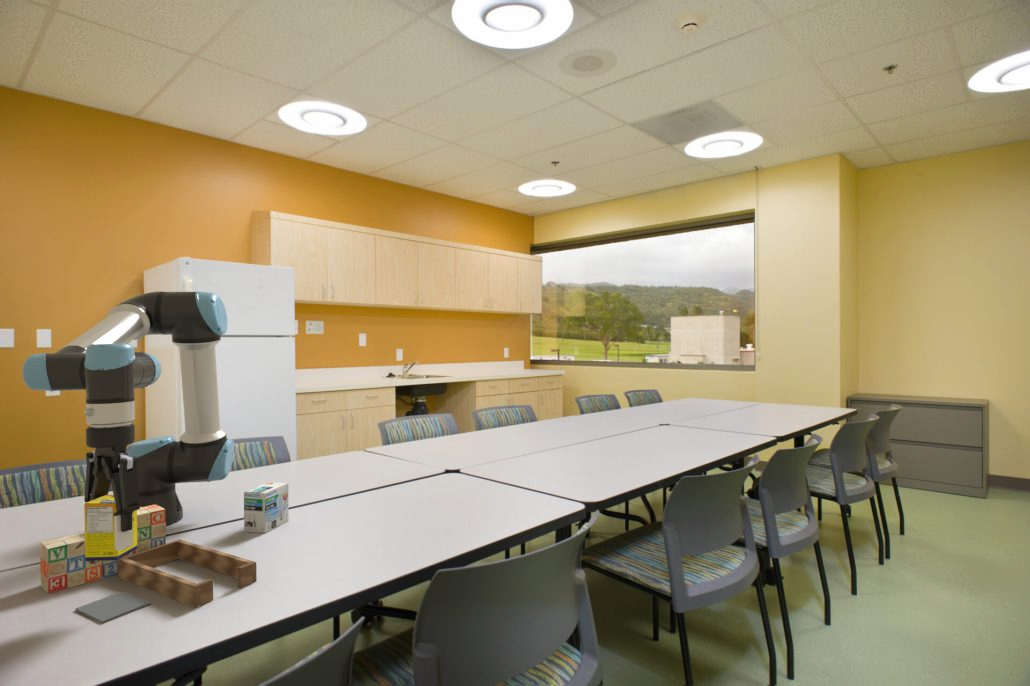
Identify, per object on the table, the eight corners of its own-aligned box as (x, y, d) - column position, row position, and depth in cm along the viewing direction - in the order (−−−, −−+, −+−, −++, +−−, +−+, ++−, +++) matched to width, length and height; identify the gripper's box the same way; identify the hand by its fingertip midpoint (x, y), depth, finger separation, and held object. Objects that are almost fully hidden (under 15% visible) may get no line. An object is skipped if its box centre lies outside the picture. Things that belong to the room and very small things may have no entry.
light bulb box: (265, 534, 144) (265, 493, 144) (242, 532, 146) (242, 491, 145) (289, 520, 155) (289, 482, 155) (268, 519, 156) (268, 481, 156)
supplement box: (138, 549, 108) (137, 493, 108) (117, 561, 102) (116, 502, 102) (107, 549, 108) (106, 493, 107) (84, 561, 102) (83, 502, 101)
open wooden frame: (118, 577, 118) (117, 558, 118) (179, 556, 130) (179, 539, 130) (195, 607, 105) (195, 586, 105) (256, 581, 116) (256, 562, 116)
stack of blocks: (47, 594, 111) (46, 533, 110) (40, 586, 115) (39, 527, 114) (166, 560, 127) (165, 508, 127) (156, 554, 131) (156, 503, 131)
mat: (75, 610, 104) (75, 608, 104) (122, 593, 111) (122, 591, 111) (102, 623, 99) (102, 621, 99) (149, 604, 106) (149, 602, 106)
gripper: (61, 423, 106) (62, 540, 106) (117, 431, 96) (118, 560, 96) (105, 418, 113) (106, 528, 113) (162, 425, 103) (163, 546, 103)
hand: (112, 543), depth 105 cm, fingers closed on supplement box, 8 cm apart
